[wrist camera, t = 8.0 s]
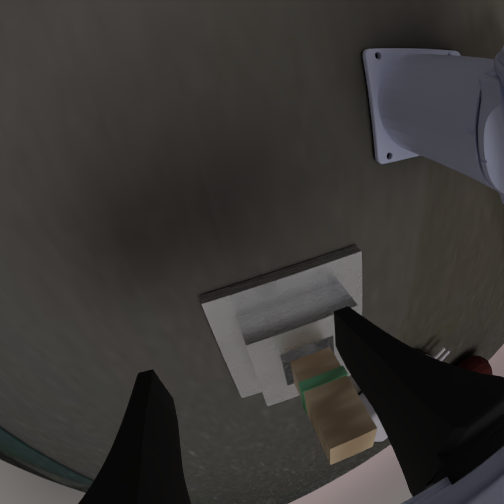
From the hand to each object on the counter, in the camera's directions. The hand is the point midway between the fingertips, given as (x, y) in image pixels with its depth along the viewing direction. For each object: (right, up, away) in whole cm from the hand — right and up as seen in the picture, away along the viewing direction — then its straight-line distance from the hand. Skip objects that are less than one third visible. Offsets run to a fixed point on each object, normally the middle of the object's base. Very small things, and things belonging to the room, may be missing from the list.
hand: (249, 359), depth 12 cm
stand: (+3, -2, +14) cm, 15 cm away
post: (+4, -4, +11) cm, 12 cm away
